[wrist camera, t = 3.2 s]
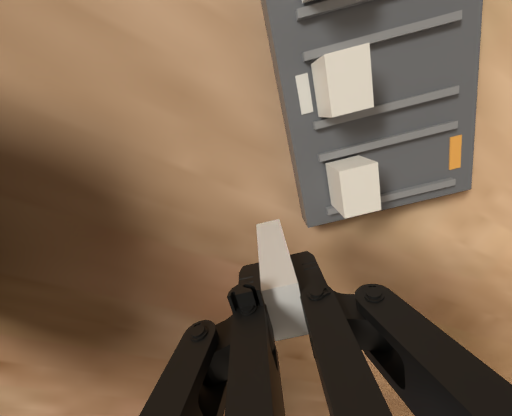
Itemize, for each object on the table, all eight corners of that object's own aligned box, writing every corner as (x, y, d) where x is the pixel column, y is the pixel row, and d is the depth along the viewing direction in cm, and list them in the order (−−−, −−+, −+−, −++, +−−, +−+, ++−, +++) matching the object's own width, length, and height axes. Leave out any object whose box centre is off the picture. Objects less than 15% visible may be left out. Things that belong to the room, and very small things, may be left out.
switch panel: (302, 218, 27) (309, 230, 25) (247, -67, 19) (248, -99, 16) (451, 182, 27) (476, 190, 24) (461, -129, 18) (502, -175, 16)
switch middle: (318, 117, 21) (331, 117, 18) (310, 64, 20) (323, 54, 17) (353, 108, 21) (374, 106, 18) (348, 54, 20) (369, 42, 17)
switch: (331, 204, 24) (344, 218, 21) (325, 163, 23) (338, 171, 19) (362, 196, 24) (381, 210, 21) (358, 155, 23) (377, 162, 19)
